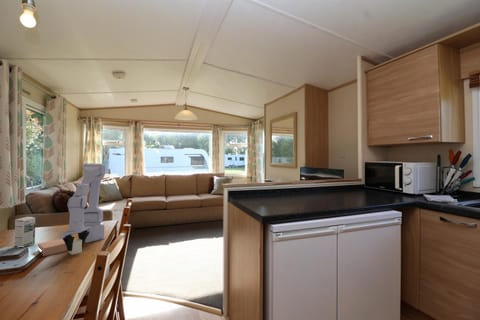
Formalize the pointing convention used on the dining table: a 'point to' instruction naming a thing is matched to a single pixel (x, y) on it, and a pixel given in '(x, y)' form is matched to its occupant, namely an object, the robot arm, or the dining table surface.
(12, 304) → the dining table surface
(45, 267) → the dining table surface
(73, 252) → the white upright block
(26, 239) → the syrup box
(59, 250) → the base block
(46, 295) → the dining table surface
